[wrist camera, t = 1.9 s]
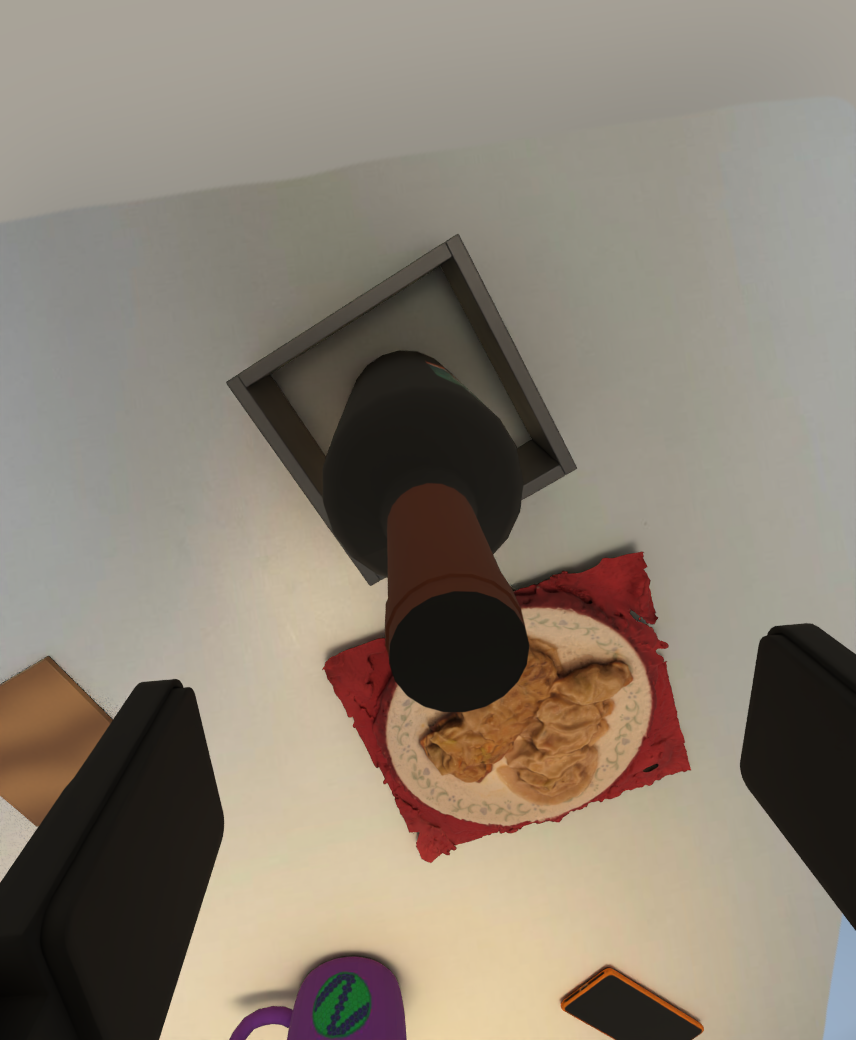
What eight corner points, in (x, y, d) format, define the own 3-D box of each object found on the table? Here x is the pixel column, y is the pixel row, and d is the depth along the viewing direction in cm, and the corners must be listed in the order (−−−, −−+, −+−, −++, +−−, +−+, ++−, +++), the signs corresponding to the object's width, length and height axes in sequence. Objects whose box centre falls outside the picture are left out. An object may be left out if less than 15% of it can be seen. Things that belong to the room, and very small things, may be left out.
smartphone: (608, 963, 61) (611, 972, 60) (703, 1022, 65) (707, 1030, 64) (556, 1002, 62) (558, 1011, 61) (653, 1056, 67) (656, 1065, 66)
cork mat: (-72, 727, 45) (-76, 731, 45) (48, 655, 44) (44, 659, 43) (40, 822, 49) (36, 827, 49) (153, 759, 48) (150, 763, 47)
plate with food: (322, 648, 45) (316, 675, 42) (636, 543, 43) (655, 562, 40) (423, 848, 54) (425, 883, 51) (689, 767, 52) (708, 798, 49)
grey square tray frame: (252, 369, 38) (225, 382, 31) (445, 247, 36) (458, 233, 29) (372, 544, 42) (370, 586, 36) (546, 443, 41) (577, 468, 34)
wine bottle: (360, 339, 37) (288, 424, 9) (472, 364, 39) (709, 507, 10) (341, 450, 40) (238, 784, 12) (446, 471, 41) (584, 822, 13)
